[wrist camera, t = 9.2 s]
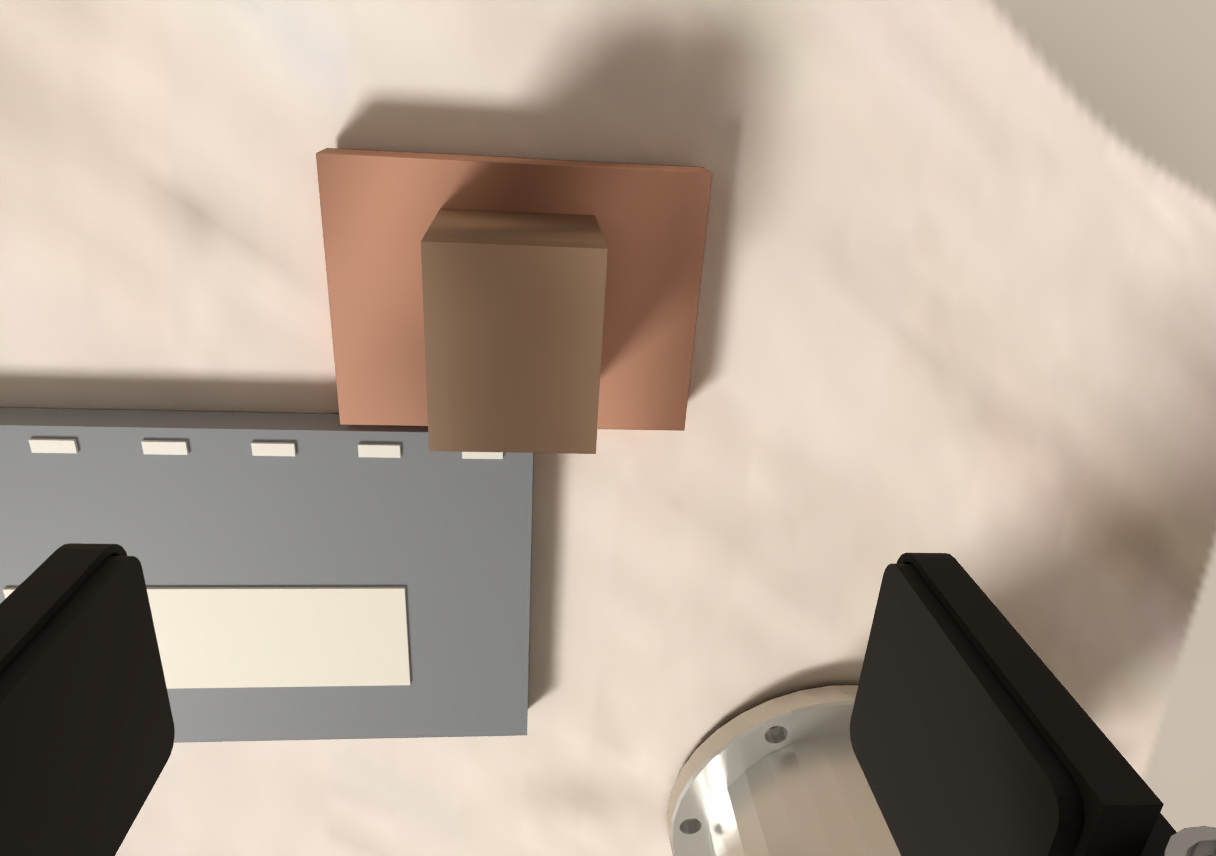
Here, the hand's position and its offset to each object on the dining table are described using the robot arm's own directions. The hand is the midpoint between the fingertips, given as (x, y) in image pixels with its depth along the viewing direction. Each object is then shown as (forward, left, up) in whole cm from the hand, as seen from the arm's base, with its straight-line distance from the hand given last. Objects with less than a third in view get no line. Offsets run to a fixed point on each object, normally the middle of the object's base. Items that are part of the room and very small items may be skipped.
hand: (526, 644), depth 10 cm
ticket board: (+9, +9, -15) cm, 20 cm away
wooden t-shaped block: (0, -1, -15) cm, 15 cm away
